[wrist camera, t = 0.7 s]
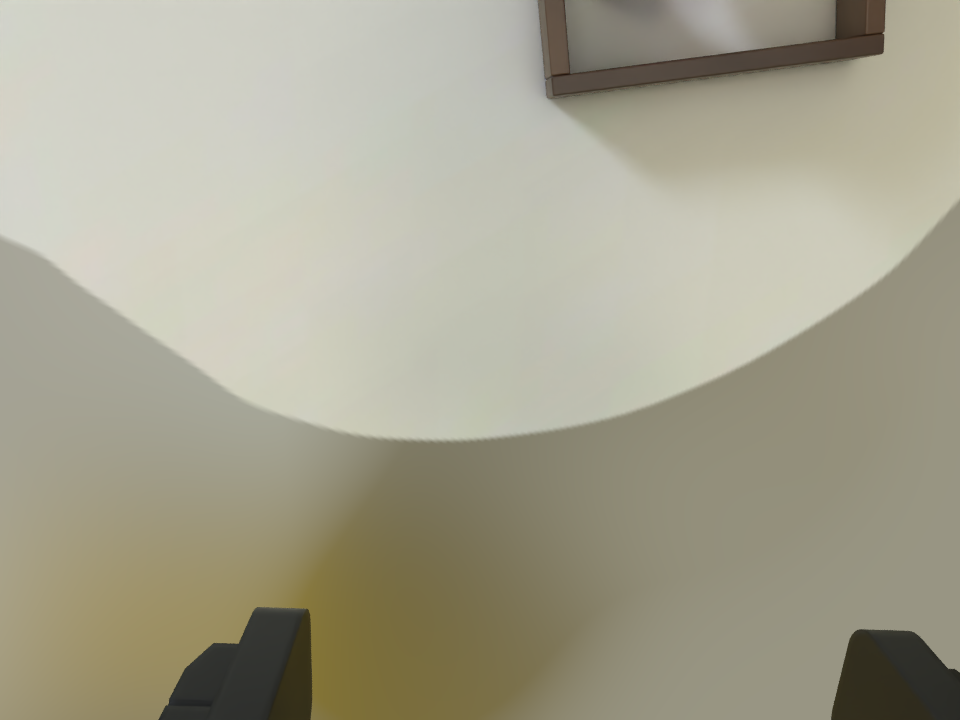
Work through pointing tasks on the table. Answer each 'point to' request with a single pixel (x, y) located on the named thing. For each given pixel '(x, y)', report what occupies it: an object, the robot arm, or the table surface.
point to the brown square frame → (854, 40)
